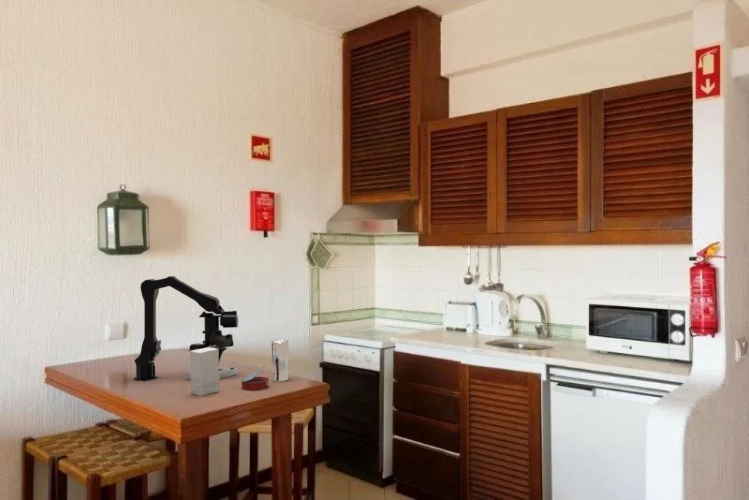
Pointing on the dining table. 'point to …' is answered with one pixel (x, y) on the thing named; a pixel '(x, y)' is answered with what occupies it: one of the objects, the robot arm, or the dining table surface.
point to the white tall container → (280, 360)
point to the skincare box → (204, 371)
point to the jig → (222, 372)
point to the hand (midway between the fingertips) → (212, 366)
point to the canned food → (255, 381)
